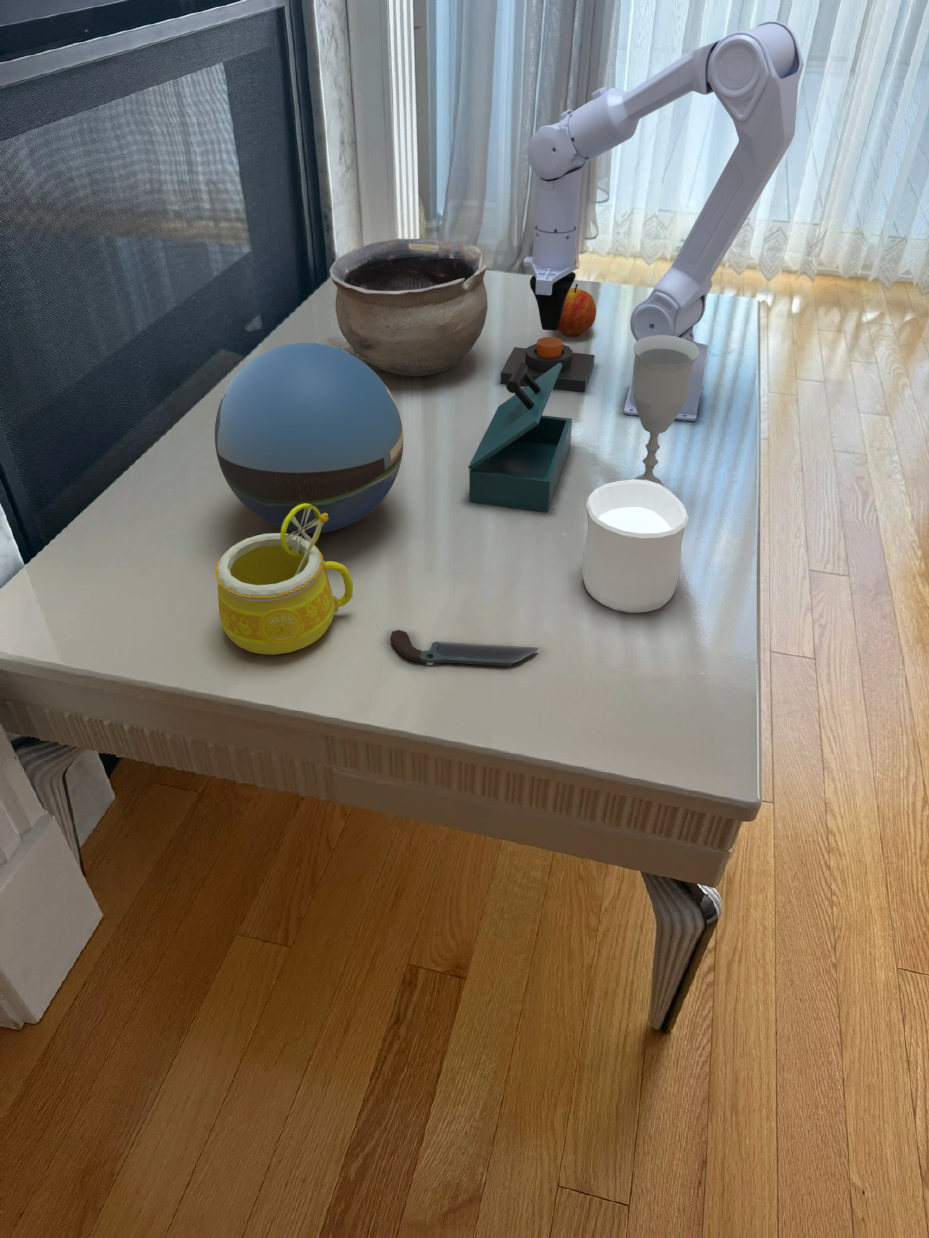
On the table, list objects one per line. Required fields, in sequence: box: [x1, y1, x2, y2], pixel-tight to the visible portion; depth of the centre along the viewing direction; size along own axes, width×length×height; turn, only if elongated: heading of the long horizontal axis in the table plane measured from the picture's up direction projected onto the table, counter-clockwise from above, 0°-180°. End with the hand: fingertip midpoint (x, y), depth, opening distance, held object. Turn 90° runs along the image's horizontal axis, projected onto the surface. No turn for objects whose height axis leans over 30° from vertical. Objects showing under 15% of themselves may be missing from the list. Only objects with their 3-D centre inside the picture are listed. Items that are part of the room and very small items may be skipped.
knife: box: [389, 629, 540, 667], centre depth 84 cm, size 14×4×1 cm, turn 84°
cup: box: [581, 478, 690, 614], centre depth 89 cm, size 10×10×10 cm
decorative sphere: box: [214, 342, 404, 534], centre depth 95 cm, size 20×20×20 cm
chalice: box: [632, 335, 700, 487], centre depth 98 cm, size 7×7×18 cm
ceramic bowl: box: [329, 238, 488, 377], centre depth 128 cm, size 22×22×15 cm
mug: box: [214, 503, 354, 655], centre depth 84 cm, size 13×11×12 cm
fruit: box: [557, 283, 597, 338], centre depth 138 cm, size 7×7×8 cm
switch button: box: [536, 336, 563, 358], centre depth 127 cm, size 4×4×2 cm
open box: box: [468, 414, 573, 513], centre depth 107 cm, size 9×15×4 cm, turn 165°
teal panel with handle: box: [467, 363, 562, 471], centre depth 103 cm, size 10×15×4 cm
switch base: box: [500, 342, 596, 393], centre depth 129 cm, size 12×9×4 cm
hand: (550, 328), depth 125 cm, fingers closed
